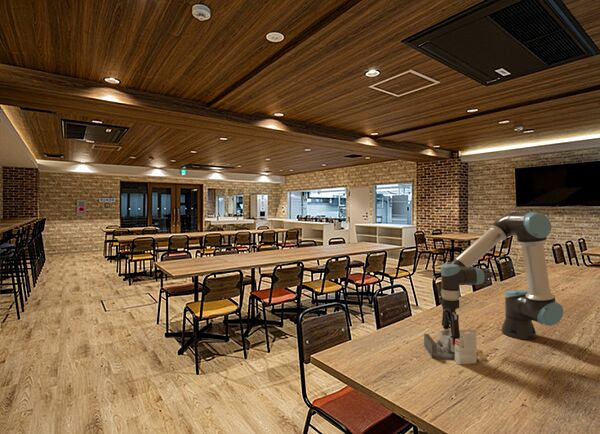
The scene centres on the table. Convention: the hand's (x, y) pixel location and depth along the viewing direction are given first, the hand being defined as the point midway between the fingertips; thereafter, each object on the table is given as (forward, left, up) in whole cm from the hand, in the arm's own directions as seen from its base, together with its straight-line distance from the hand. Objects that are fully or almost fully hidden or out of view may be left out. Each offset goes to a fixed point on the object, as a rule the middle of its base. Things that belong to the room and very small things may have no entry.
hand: (450, 347), depth 153 cm
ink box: (-3, +10, -3) cm, 10 cm away
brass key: (-12, +3, -3) cm, 13 cm away
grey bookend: (+1, 0, -3) cm, 3 cm away
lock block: (0, 0, -1) cm, 1 cm away
